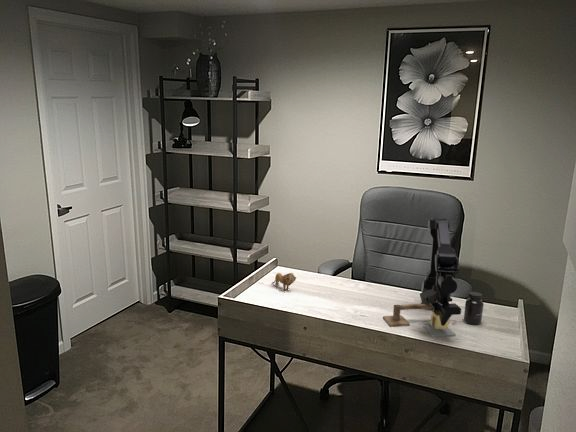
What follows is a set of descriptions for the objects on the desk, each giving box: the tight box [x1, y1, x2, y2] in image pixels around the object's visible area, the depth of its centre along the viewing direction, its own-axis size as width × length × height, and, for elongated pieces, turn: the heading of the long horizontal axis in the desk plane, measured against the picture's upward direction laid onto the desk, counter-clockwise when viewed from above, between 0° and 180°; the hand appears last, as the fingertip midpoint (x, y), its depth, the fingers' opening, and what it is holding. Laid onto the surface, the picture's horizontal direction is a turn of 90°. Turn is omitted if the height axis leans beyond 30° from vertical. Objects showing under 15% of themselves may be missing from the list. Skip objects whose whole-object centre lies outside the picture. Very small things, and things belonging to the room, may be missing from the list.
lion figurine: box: [271, 272, 297, 292], centre depth 225 cm, size 15×5×9 cm, turn 46°
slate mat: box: [422, 324, 457, 338], centre depth 184 cm, size 9×9×1 cm
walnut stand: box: [382, 303, 433, 328], centre depth 192 cm, size 20×8×7 cm, turn 99°
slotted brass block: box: [430, 310, 450, 329], centre depth 183 cm, size 5×5×6 cm
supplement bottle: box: [463, 291, 485, 326], centre depth 193 cm, size 7×7×12 cm
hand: (439, 322), depth 184 cm, fingers closed on slotted brass block, 4 cm apart
